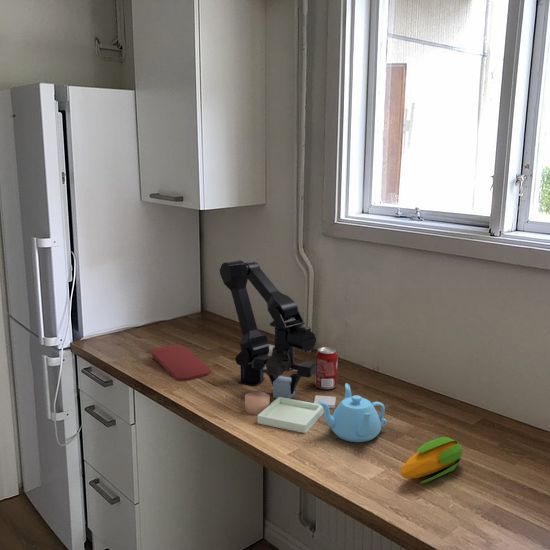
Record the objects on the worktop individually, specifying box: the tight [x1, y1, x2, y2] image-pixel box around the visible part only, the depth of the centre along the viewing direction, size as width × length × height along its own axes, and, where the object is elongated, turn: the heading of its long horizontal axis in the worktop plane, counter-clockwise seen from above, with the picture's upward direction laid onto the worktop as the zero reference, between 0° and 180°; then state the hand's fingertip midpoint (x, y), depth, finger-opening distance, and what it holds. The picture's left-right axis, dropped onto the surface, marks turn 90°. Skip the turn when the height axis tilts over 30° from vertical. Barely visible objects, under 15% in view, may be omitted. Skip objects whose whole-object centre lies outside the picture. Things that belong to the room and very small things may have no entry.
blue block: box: [272, 375, 296, 399], centre depth 187 cm, size 5×5×5 cm
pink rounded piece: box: [244, 391, 271, 416], centre depth 177 cm, size 7×7×4 cm
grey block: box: [313, 395, 337, 409], centre depth 182 cm, size 6×6×2 cm
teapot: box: [318, 382, 387, 443], centre depth 162 cm, size 15×15×10 cm
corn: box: [400, 436, 463, 485], centre depth 143 cm, size 7×8×20 cm
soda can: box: [314, 346, 339, 391], centre depth 193 cm, size 7×7×12 cm
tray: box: [257, 397, 324, 434], centre depth 172 cm, size 14×14×2 cm
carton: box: [151, 344, 212, 382], centre depth 211 cm, size 12×5×25 cm
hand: (284, 392), depth 187 cm, fingers closed on blue block, 5 cm apart
